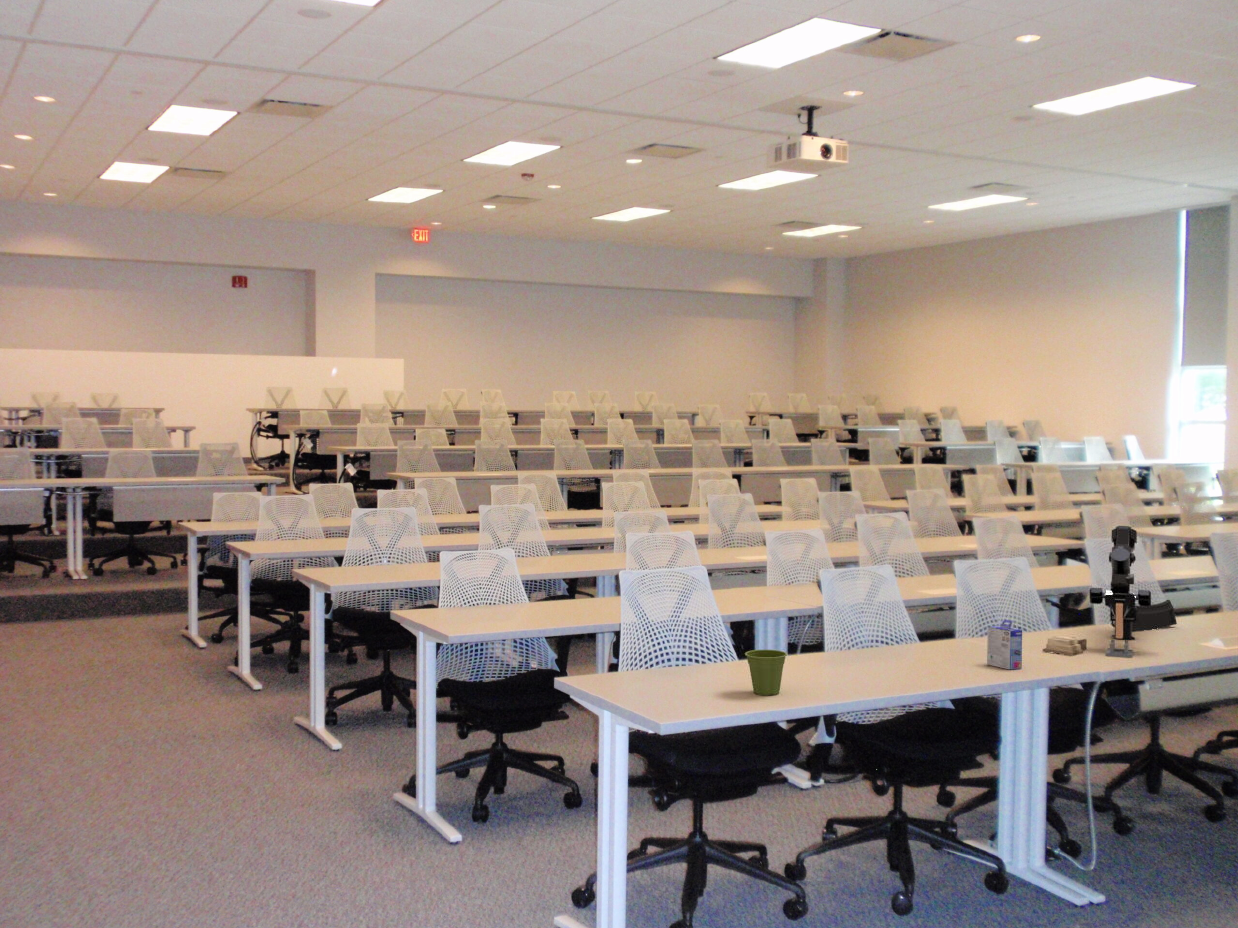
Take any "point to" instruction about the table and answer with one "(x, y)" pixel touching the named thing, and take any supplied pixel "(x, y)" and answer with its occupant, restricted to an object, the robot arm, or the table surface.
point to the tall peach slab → (1119, 620)
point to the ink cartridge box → (1004, 646)
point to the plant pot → (766, 670)
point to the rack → (1066, 645)
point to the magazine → (1154, 617)
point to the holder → (1119, 650)
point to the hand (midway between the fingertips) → (1119, 617)
